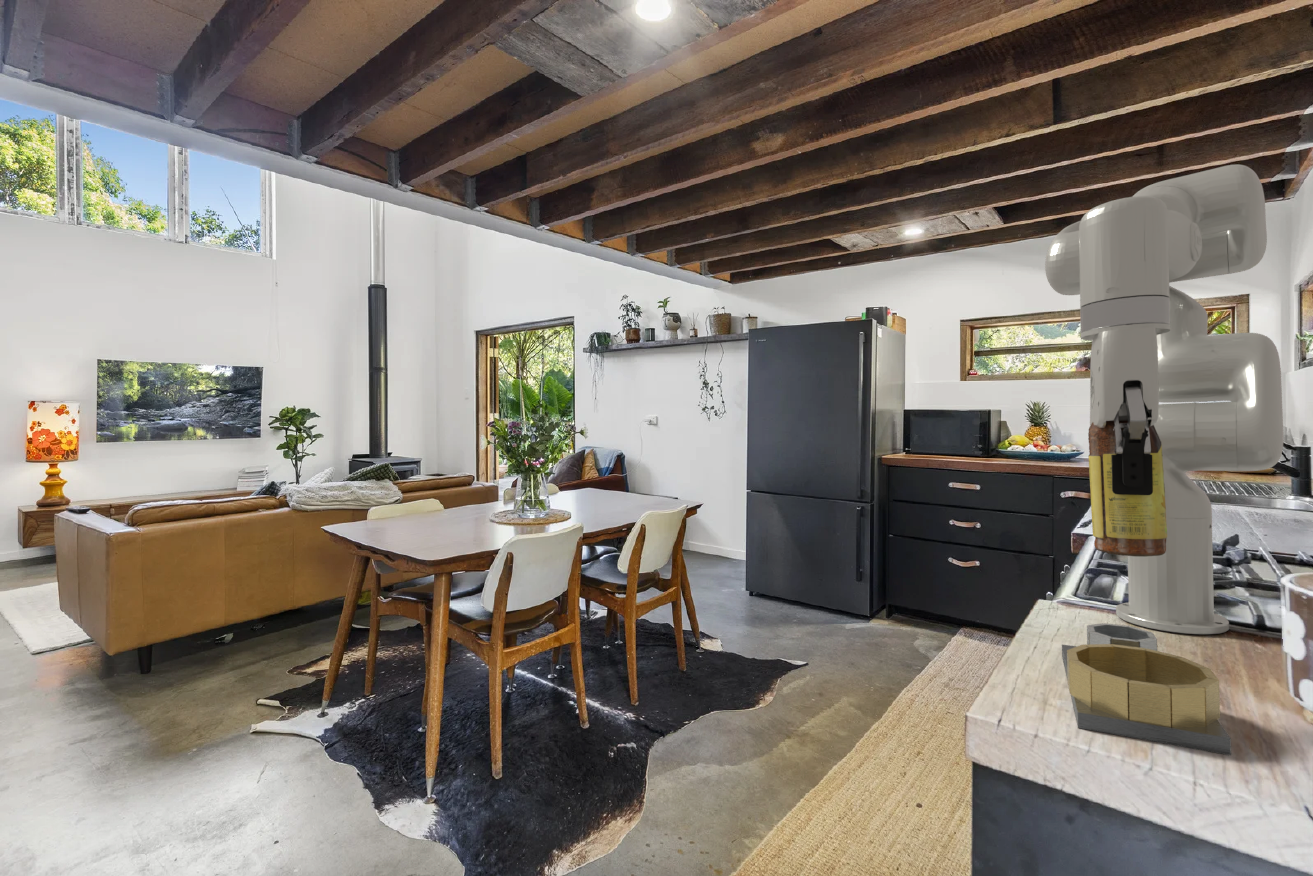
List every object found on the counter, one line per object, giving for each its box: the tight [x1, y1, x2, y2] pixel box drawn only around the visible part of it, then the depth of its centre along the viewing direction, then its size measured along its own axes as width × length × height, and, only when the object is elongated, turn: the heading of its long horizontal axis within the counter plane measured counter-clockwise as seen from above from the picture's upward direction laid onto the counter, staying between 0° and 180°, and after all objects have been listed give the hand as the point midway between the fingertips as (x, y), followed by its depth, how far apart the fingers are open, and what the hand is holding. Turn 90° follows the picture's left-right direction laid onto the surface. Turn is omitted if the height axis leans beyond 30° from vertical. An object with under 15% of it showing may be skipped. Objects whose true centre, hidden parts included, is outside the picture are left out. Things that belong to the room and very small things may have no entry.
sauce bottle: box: [1087, 395, 1167, 557], centre depth 65 cm, size 7×6×20 cm
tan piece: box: [1061, 622, 1232, 756], centre depth 65 cm, size 21×12×5 cm, turn 150°
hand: (1126, 490), depth 65 cm, fingers closed on sauce bottle, 6 cm apart
